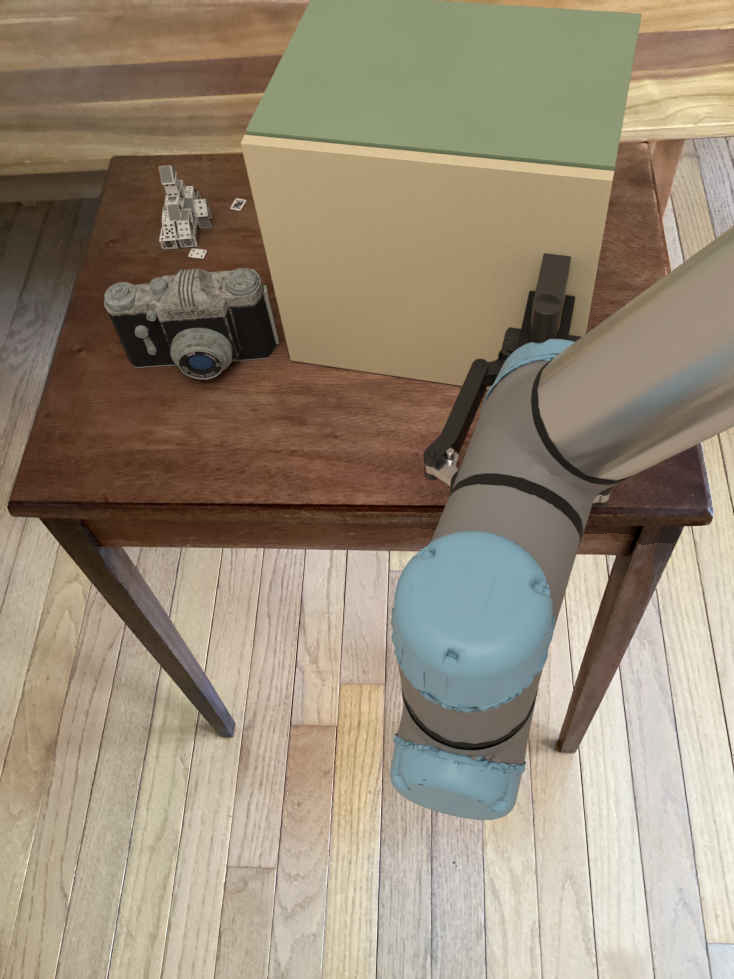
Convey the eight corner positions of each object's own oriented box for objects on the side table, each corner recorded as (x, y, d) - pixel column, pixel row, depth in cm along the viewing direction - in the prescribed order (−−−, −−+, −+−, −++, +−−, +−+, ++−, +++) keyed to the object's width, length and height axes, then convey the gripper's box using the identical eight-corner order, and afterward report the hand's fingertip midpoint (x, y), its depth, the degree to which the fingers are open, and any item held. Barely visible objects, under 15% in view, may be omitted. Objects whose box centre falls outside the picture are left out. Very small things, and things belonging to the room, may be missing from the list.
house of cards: (242, 256, 95) (226, 196, 89) (159, 262, 96) (137, 203, 89) (247, 197, 100) (232, 136, 94) (168, 203, 101) (148, 143, 94)
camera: (121, 394, 86) (85, 321, 78) (130, 340, 90) (96, 264, 82) (278, 384, 86) (258, 308, 77) (280, 329, 89) (262, 251, 81)
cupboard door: (564, 458, 79) (601, 242, 58) (271, 410, 84) (212, 198, 64) (575, 394, 82) (614, 170, 62) (293, 352, 87) (244, 134, 67)
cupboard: (575, 392, 82) (615, 165, 62) (294, 351, 88) (245, 130, 67) (600, 251, 91) (641, 13, 71) (343, 222, 97) (313, -8, 76)
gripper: (387, 573, 65) (455, 325, 77) (607, 616, 62) (642, 351, 74) (380, 519, 58) (455, 258, 70) (624, 563, 55) (659, 282, 67)
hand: (550, 306), depth 72 cm, fingers closed on cupboard door, 2 cm apart
